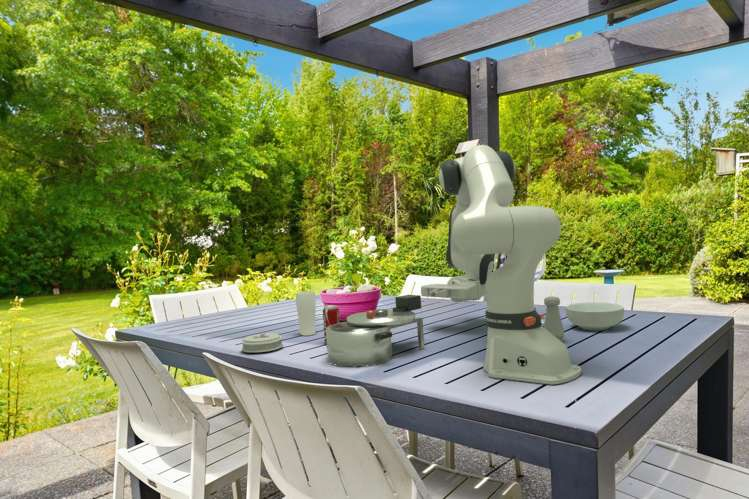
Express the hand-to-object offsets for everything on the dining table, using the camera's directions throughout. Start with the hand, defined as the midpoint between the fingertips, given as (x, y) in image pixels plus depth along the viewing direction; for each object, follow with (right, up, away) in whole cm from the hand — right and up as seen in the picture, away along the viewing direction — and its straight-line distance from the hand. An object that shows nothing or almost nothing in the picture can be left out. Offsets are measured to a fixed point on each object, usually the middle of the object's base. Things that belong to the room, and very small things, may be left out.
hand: (433, 294), depth 166 cm
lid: (-54, -18, -3) cm, 57 cm away
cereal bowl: (+51, -11, -3) cm, 52 cm away
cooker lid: (-15, -6, -14) cm, 22 cm away
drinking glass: (-42, -16, +16) cm, 48 cm away
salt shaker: (+33, -12, -17) cm, 39 cm away
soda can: (-32, -16, 0) cm, 36 cm away
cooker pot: (-20, -16, -19) cm, 31 cm away
